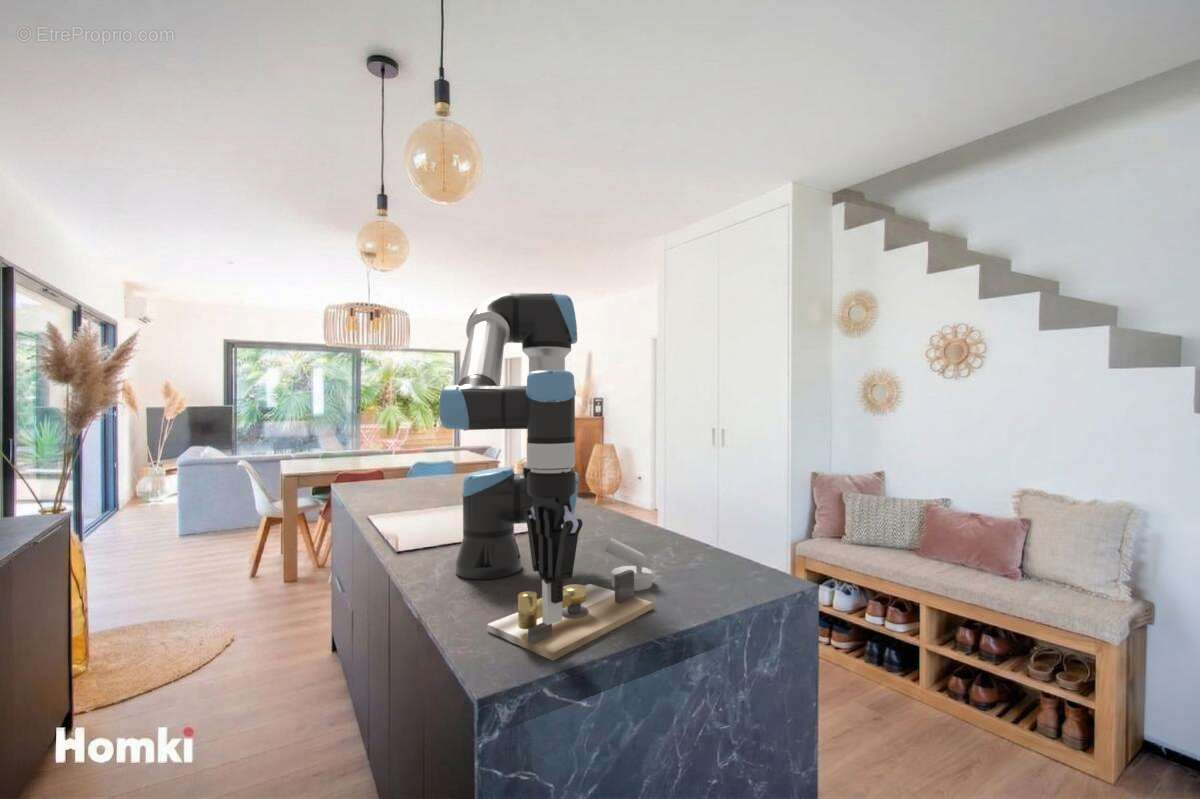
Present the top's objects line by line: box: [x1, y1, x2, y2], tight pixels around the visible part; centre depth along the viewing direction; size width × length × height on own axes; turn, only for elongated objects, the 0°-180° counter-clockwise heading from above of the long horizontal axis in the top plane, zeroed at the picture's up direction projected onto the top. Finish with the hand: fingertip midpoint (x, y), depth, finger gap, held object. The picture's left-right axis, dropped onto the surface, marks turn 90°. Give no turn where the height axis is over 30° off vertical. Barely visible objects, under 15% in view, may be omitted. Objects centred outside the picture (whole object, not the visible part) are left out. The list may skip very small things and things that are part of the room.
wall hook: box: [605, 537, 653, 592], centre depth 112 cm, size 9×10×10 cm
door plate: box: [486, 570, 654, 661], centre depth 94 cm, size 16×26×6 cm, turn 139°
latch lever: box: [517, 583, 586, 629], centre depth 90 cm, size 15×4×5 cm, turn 139°
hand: (552, 621), depth 82 cm, fingers closed
